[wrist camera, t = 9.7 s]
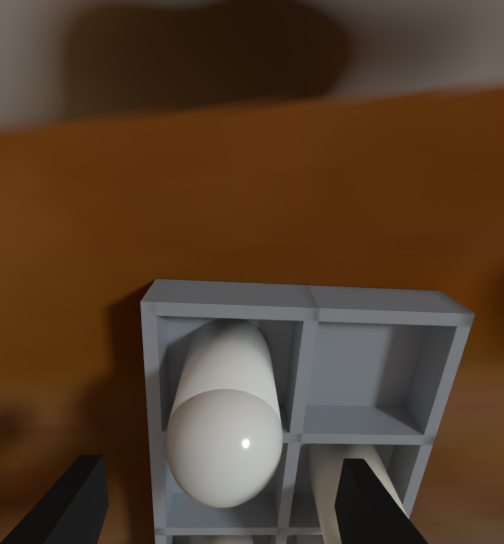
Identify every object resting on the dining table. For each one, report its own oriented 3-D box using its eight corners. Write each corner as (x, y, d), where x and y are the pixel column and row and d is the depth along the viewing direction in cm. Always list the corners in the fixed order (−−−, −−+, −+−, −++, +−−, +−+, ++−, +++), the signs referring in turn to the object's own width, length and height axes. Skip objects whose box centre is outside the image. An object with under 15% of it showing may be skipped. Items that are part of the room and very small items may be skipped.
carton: (366, 558, 22) (381, 604, 20) (168, 559, 22) (159, 608, 19) (439, 290, 16) (474, 313, 13) (156, 279, 15) (140, 301, 13)
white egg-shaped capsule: (266, 387, 17) (284, 539, 10) (188, 385, 16) (154, 539, 10) (272, 318, 15) (298, 441, 9) (188, 315, 15) (147, 439, 8)
